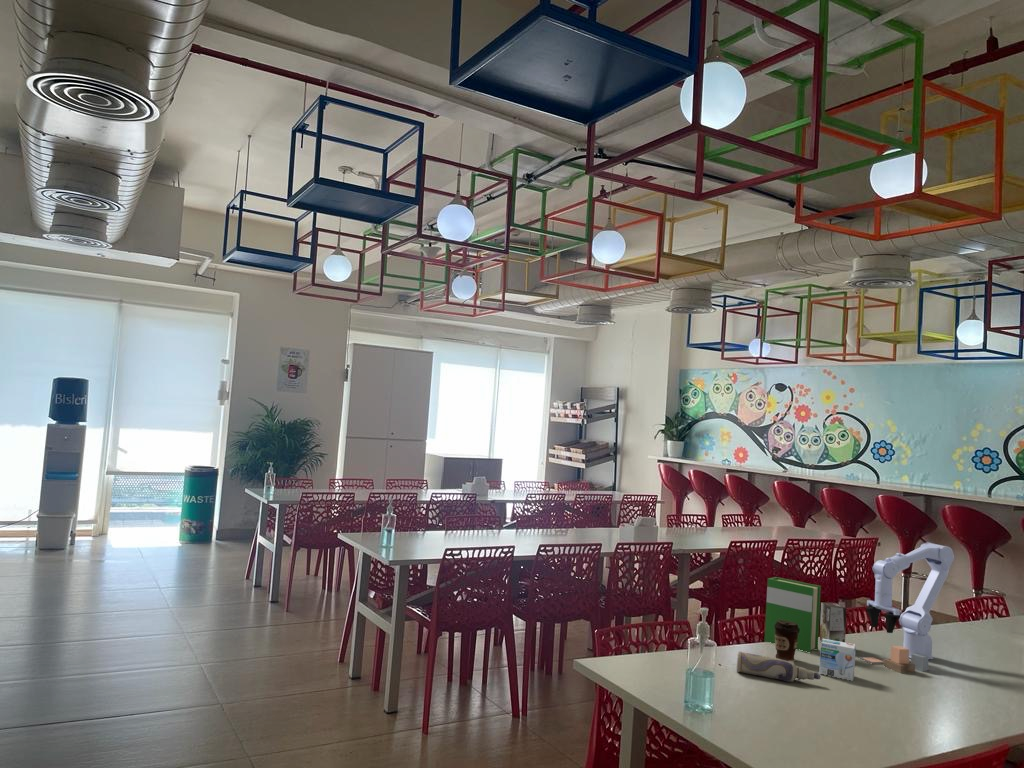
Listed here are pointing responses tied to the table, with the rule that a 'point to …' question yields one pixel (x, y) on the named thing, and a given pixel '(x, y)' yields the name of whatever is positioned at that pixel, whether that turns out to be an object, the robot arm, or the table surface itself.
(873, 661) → the swatch
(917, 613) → the robot arm
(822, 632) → the coffee box
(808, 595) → the hardback book
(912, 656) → the slate block
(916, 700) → the table surface
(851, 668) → the light bulb box
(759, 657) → the decorative bottle
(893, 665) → the walnut slab
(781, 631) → the coffee cup
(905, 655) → the terracotta block
